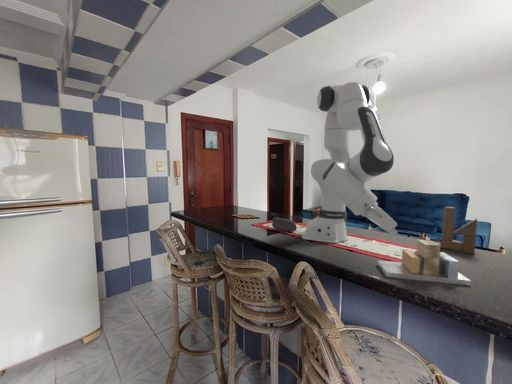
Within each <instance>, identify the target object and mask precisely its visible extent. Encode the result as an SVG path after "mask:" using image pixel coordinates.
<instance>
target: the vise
mask: <svg viewBox="0 0 512 384" xmlns="http://www.w3.org/2000/svg"><path fill="white" fill-rule="evenodd" d="M377 266H378V267H379V268H380V270H381V272H382V273H383V275H384V276H385V277H387V278H392V279H393V278H395V279H403V280H404V279H405V280H413V281H415V280H416V281H422V282H431V283H439V284H440V283H441V284H451V285H460V286H461V285H462V286H472V285H471V284H472V280H470V279H469V278H468V277H466V276H465V275H464V274H462V273H460V272H459V267H460V261H459V260H457V259H456V258H454V257H452V256H451V255H449V254H447V253H446V252H443V251H442V252H441V251H440V257H439V271H438V274H431V273H423V272H422V271H421V272H419V273H411V272H410V271H409V270H408V269H407V268H406V267H405V266H404V265H403V264H402V261H401V262H399V261H389V260H377Z"/></svg>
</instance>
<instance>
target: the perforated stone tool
mask: <svg viewBox="0 0 512 384" xmlns="http://www.w3.org/2000/svg"><path fill="white" fill-rule="evenodd" d="M271 226H272V228H274V229H275V230H278V231H283V232H288V233H289V232H290V233H291V232H295V231H297V228H298V227H297V224H296V223H295V222H293V221H292V220H291V219H287V218H282V217H277V216H275V217H273V218H272V220H271Z"/></svg>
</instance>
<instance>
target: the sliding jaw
mask: <svg viewBox="0 0 512 384" xmlns="http://www.w3.org/2000/svg"><path fill="white" fill-rule="evenodd" d="M401 253H402V254H401V262H402V264H403V265H404V266H405V267H406V268H407V269H408V270H409V271H410V272H411V273H419V272H421V261H422V258H420V257H419V256H418V255H417V253H415V252H414V251H413V250H412V249H411V250H410V249H404V248H403V249H402V251H401Z"/></svg>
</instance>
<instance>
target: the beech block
mask: <svg viewBox="0 0 512 384" xmlns="http://www.w3.org/2000/svg"><path fill="white" fill-rule="evenodd" d="M440 252H441V248H440V244H439V243H437V242H435V241H433V240H426V239H425V240H424V239H417V249H416V254H417V255H418V256H419V257H420V258H422V261H421V271H422V272H423V273H431V274H438V271H439V257H440Z"/></svg>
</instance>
